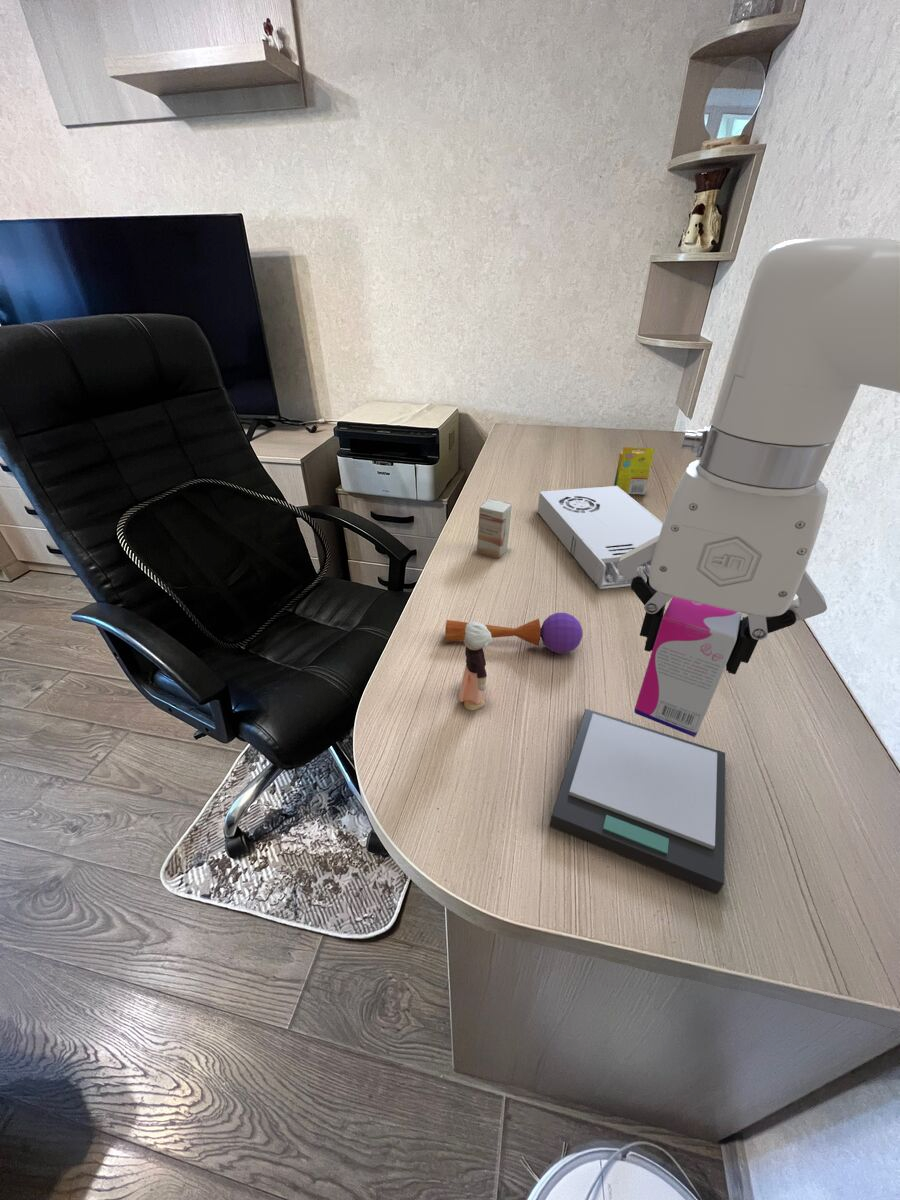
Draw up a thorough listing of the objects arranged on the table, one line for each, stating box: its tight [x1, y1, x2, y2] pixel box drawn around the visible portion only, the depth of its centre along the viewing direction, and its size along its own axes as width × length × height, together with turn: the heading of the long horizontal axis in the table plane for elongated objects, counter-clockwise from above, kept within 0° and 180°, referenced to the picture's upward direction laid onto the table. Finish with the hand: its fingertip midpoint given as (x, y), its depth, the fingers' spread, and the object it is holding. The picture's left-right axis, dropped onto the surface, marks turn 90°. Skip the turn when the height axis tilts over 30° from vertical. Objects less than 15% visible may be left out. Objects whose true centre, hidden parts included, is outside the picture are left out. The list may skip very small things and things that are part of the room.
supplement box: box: [633, 597, 743, 738], centre depth 46 cm, size 6×6×12 cm
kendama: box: [444, 612, 583, 654], centre depth 75 cm, size 6×6×20 cm
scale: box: [549, 708, 726, 895], centre depth 54 cm, size 16×16×3 cm
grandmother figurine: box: [458, 620, 493, 712], centre depth 63 cm, size 8×4×13 cm, turn 21°
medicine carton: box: [476, 498, 513, 560], centre depth 97 cm, size 5×4×10 cm
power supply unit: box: [537, 485, 663, 590], centre depth 102 cm, size 19×33×5 cm, turn 11°
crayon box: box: [613, 446, 655, 496], centre depth 122 cm, size 7×3×12 cm, turn 84°
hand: (689, 651), depth 45 cm, fingers closed on supplement box, 6 cm apart
